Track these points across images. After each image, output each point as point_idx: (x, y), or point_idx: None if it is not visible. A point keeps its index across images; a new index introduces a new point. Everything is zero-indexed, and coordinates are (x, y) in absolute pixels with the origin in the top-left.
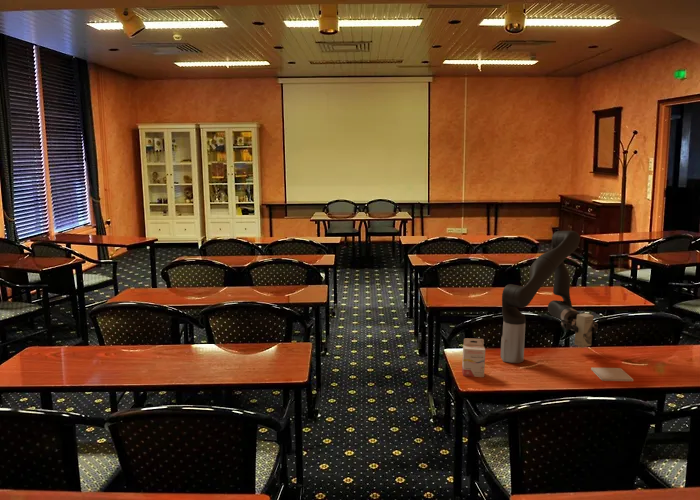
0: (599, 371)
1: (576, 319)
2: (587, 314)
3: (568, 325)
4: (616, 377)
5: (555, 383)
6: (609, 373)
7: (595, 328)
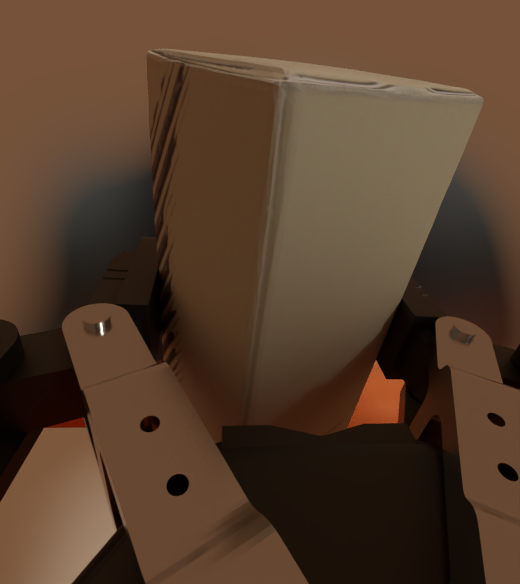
0: (99, 550)
1: (490, 557)
2: (260, 58)
3: (515, 352)
4: (56, 448)
5: (376, 396)
6: (49, 515)
7: (150, 238)
